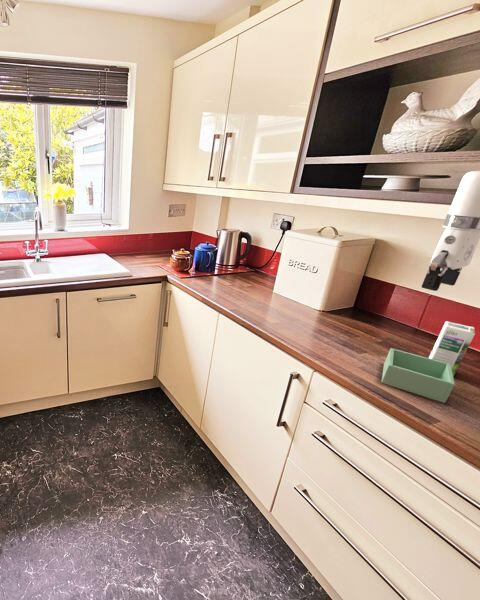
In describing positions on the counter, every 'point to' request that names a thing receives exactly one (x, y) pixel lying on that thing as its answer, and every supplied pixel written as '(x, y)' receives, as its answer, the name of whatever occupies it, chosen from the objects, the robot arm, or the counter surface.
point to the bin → (418, 375)
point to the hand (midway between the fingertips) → (437, 286)
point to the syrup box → (452, 344)
